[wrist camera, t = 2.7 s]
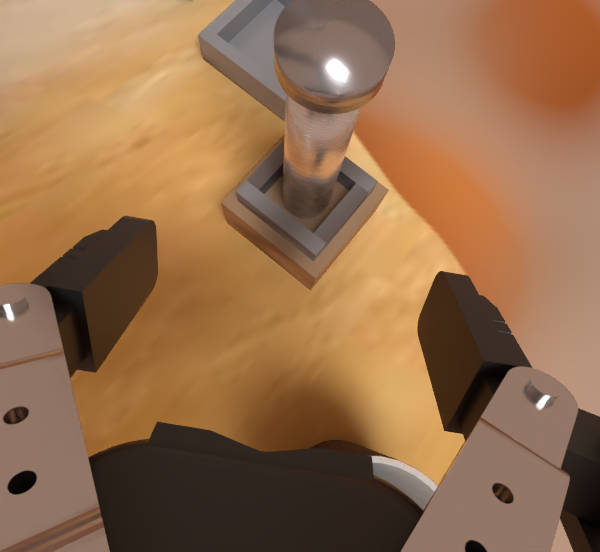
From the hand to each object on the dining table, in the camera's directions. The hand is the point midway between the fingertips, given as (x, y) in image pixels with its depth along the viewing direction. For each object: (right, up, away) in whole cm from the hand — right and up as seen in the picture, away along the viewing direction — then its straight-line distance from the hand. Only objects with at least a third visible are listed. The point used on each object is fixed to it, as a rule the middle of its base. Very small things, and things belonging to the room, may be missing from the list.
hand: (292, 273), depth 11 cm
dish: (-1, +18, +22) cm, 29 cm away
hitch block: (0, +4, +19) cm, 20 cm away
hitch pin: (+1, +5, +15) cm, 16 cm away
